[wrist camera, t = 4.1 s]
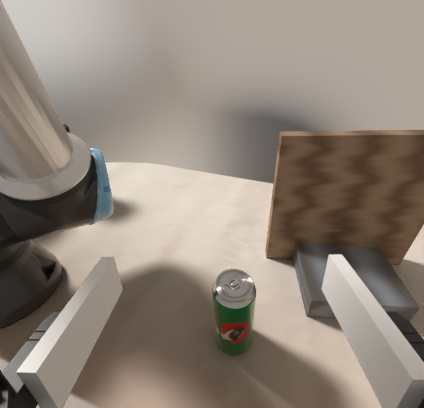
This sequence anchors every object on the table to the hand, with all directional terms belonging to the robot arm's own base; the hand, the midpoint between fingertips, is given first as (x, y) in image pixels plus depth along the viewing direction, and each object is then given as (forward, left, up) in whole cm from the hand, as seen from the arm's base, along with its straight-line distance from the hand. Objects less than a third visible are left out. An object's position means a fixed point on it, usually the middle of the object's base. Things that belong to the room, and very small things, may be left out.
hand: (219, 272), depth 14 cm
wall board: (+9, +24, -23) cm, 35 cm away
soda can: (-2, +7, -23) cm, 24 cm away
